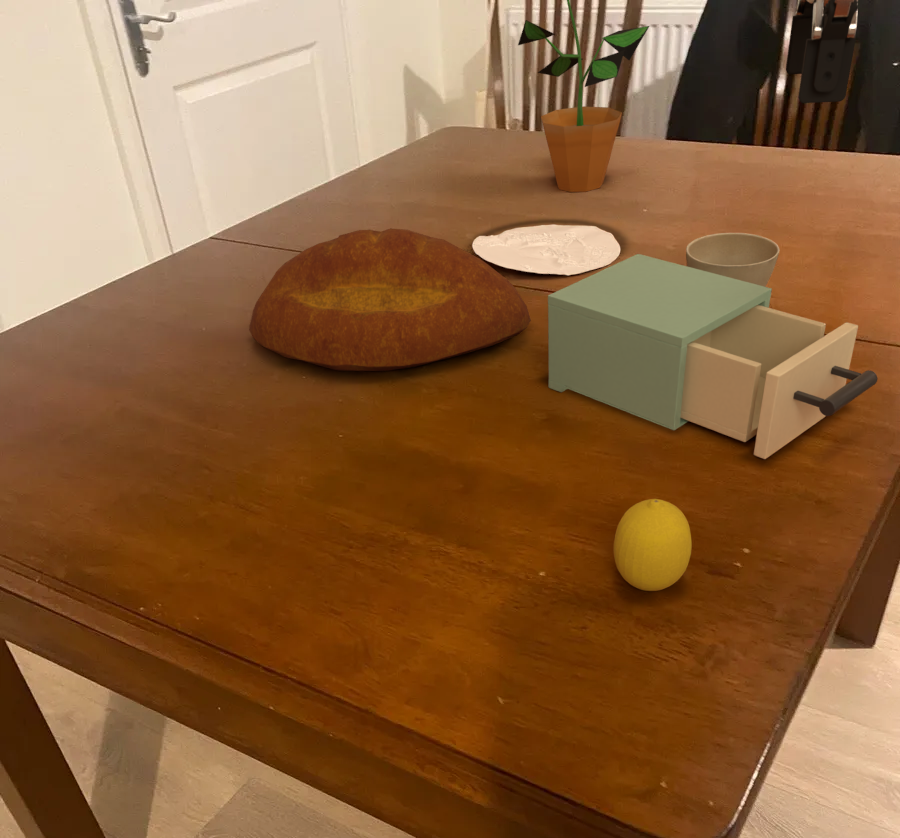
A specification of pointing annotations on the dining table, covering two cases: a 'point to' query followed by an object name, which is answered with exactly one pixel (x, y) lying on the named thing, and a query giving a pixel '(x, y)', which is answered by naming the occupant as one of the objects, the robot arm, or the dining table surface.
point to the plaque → (549, 249)
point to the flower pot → (734, 256)
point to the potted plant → (583, 111)
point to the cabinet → (639, 332)
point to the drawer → (770, 377)
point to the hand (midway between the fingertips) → (813, 86)
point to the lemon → (652, 545)
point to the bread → (385, 303)
